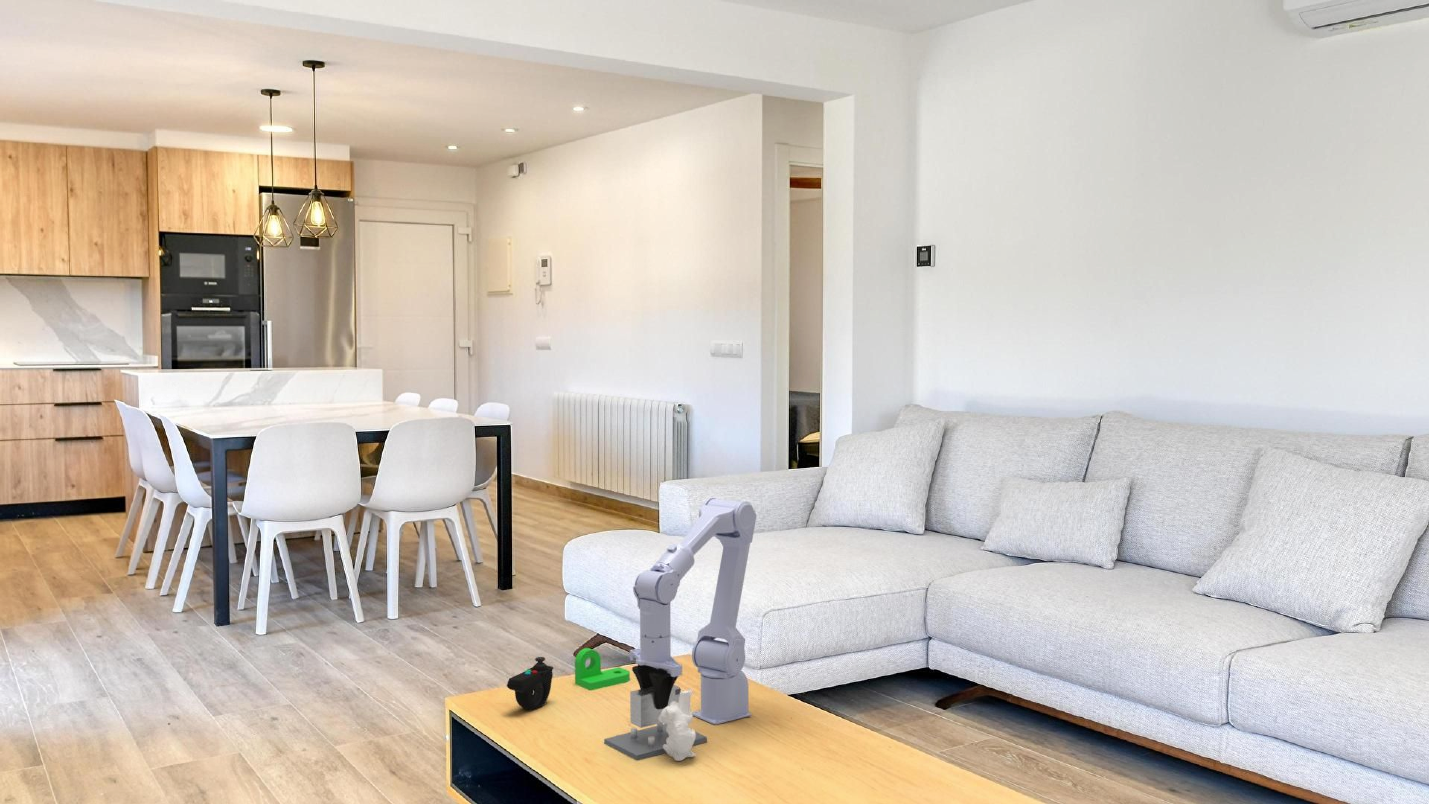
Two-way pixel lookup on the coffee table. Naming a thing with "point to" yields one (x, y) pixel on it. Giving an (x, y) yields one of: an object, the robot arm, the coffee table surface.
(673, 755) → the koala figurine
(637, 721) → the block
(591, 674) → the mechanical part
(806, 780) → the coffee table surface
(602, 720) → the coffee table surface
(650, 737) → the pin tray
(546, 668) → the controller
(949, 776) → the coffee table surface
